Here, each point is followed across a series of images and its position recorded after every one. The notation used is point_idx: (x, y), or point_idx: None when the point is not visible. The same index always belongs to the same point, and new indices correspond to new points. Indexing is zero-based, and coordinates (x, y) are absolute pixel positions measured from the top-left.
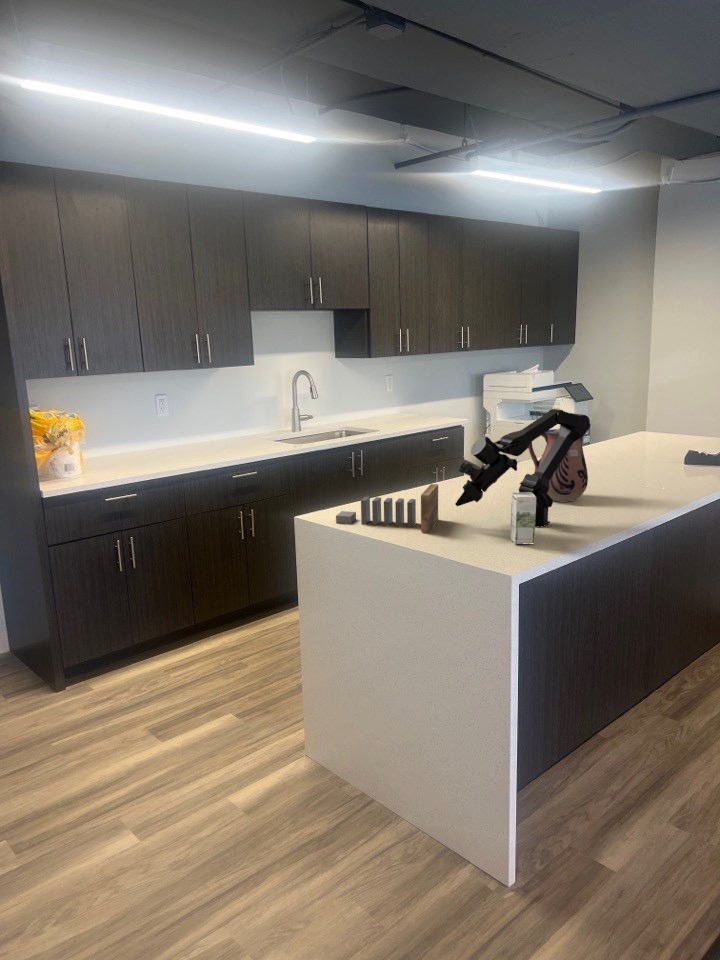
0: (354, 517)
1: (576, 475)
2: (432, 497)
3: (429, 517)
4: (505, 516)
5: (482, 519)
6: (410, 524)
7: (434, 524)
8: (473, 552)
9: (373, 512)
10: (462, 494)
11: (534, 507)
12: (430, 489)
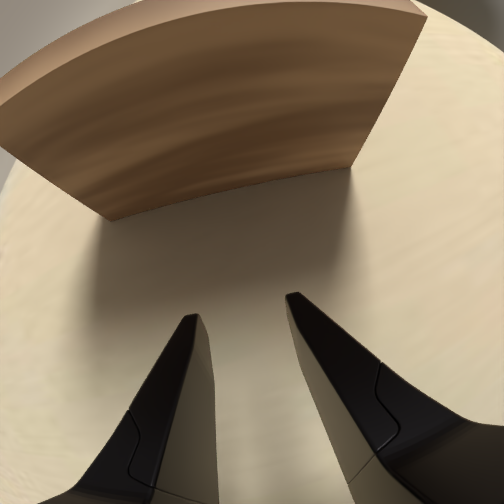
0: None
1: None
2: (136, 84)
3: (88, 188)
4: (496, 412)
5: (446, 362)
6: None
7: (251, 183)
8: (13, 436)
9: None
10: (103, 449)
11: None
12: (180, 3)
